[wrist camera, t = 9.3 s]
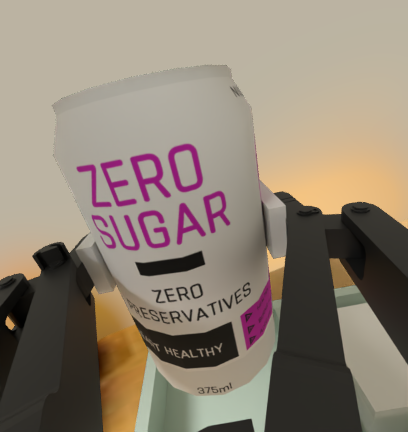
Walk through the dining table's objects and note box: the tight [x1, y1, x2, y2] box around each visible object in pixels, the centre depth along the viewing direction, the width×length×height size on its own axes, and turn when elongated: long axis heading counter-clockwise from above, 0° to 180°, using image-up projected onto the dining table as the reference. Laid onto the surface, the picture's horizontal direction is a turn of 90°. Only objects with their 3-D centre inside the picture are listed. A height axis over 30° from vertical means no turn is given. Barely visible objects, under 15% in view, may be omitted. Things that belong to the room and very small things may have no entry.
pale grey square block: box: [337, 303, 408, 432], centre depth 18 cm, size 8×8×5 cm
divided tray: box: [134, 285, 367, 432], centre depth 19 cm, size 27×14×4 cm, turn 93°
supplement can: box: [52, 65, 275, 396], centre depth 12 cm, size 8×8×15 cm
